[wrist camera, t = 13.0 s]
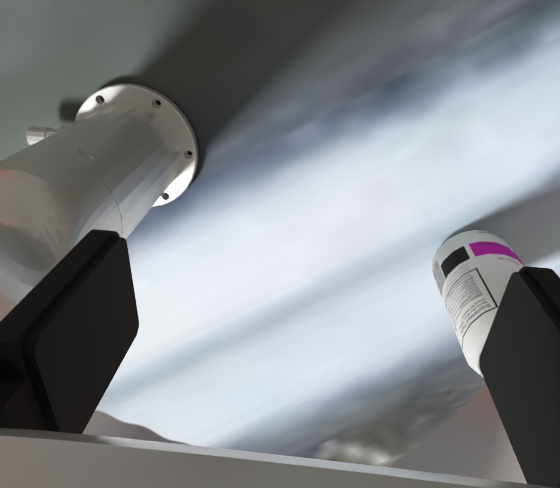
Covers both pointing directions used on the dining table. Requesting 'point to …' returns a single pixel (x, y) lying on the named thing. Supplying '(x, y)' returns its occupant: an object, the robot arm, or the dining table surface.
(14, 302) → the robot arm
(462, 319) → the supplement can
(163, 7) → the dining table surface
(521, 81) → the dining table surface
